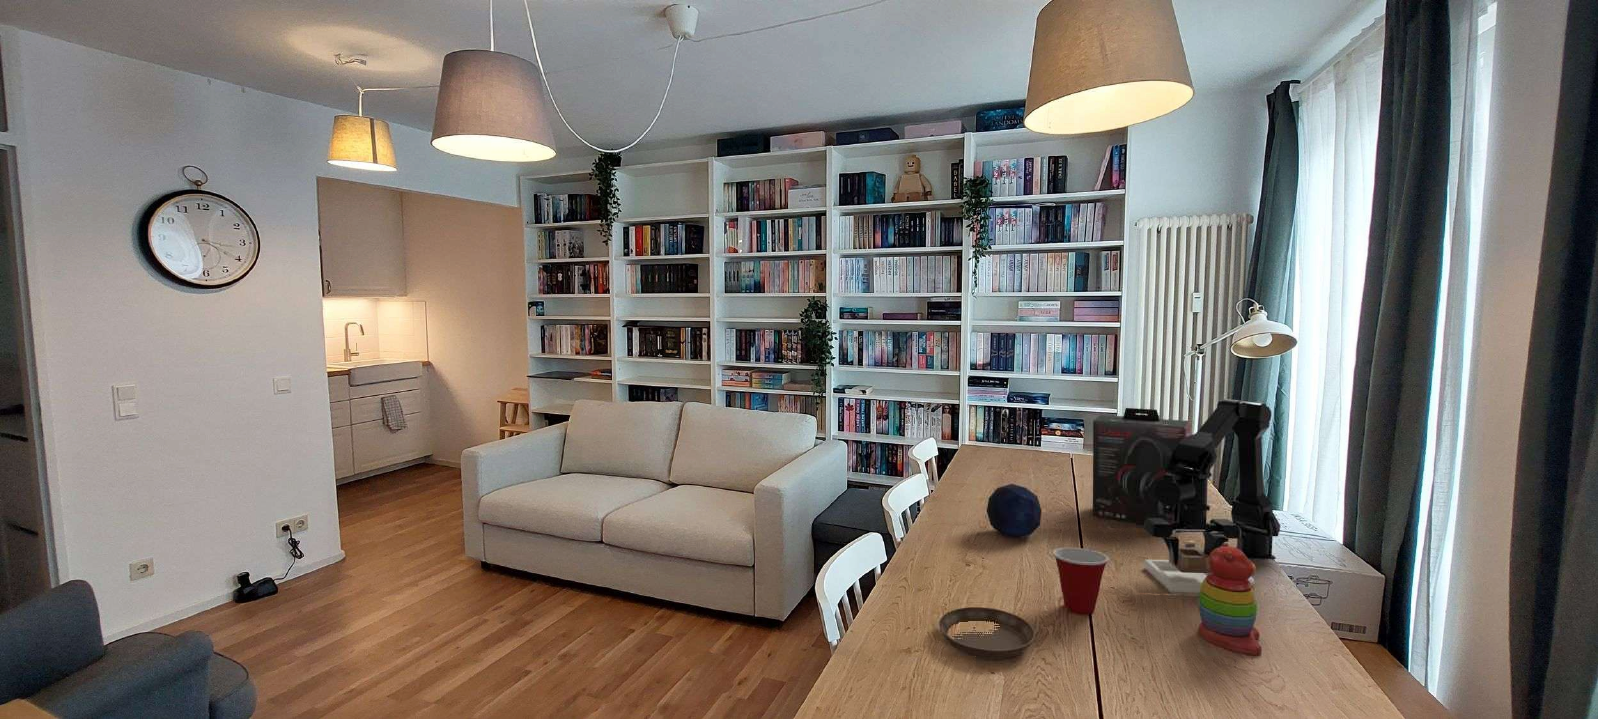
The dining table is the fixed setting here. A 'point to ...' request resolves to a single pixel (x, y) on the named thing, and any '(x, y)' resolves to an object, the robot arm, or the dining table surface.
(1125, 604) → the dining table surface
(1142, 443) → the headset box
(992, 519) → the decorative orb
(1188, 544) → the grey rounded piece
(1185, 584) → the tray
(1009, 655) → the plant saucer
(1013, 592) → the dining table surface
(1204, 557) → the brown hollow block
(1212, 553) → the stacking bear
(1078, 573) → the plastic cup
